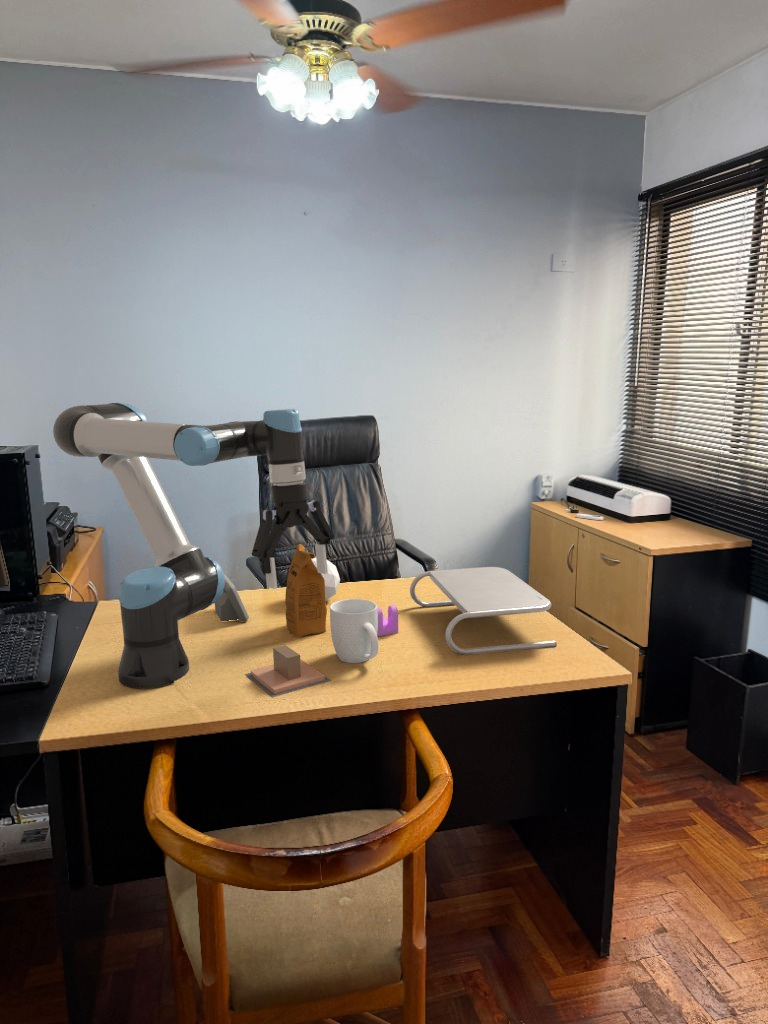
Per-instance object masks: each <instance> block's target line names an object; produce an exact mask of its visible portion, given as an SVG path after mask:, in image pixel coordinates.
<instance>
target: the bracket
mask: <svg viewBox="0 0 768 1024" xmlns="http://www.w3.org/2000/svg"><path fill="white" fill-rule="evenodd" d="M383 613H384V612H383V609H382V608H381V607H380V606H377V614H378V630H377V637H381V636H387V635H393V634H399V611H398V607H397V605H395V604H393V605H389V606H387V617H386V616H385V615H383Z"/></svg>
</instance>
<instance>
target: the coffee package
mask: <svg viewBox="0 0 768 1024" xmlns="http://www.w3.org/2000/svg"><path fill="white" fill-rule="evenodd" d="M315 557H316V554H314V553H311V552H309V551H306V547H305V546H304V545H303V544H302V543H299V544H297V546H296V551H295V552H294V556H293V558H292V561H291V563H290V565H289V570H288V574H287V582H286V587H285V588H286V589H285V621H286V627H287V629H288V632H289V634H290V635H293V636H294V637H296V638H297V637H298V638H301V637H306V636H309V635H317V634H321V633H324V632H326V631H327V624H326V623H327V622H326V621H327V614H328V607H327V601H325V599H326V596H325V580H324V578H323V576H322V575H321V573H318V571H317V568H316V566H315V565H314V563H313V562H312V559H313V558H315Z"/></svg>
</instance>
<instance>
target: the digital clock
mask: <svg viewBox="0 0 768 1024" xmlns="http://www.w3.org/2000/svg"><path fill="white" fill-rule="evenodd" d="M223 574H224V580H225V584H224V588H223V593H222V595H221V597H220V598H219V600H218V601H217V602H215V603H214V610H215V611H214V612H215V615H217V617H218V618H220V619H219V620H220V622H221V621H228V622H230V621H229V620H235V621H239V622H241V623H246V622H248V620H249V619H250V617H249V614H248V611H247V609H246V607H245V605H244V603H243V601H242V599H241V596H240V595H239V592H238V590H237V588H236V586H235V585H234V584H233V582H232V581H231V580H230V579H229V577H228V576H227V575H226V574H225V573H224V572H223ZM237 619H239V620H237Z"/></svg>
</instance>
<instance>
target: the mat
mask: <svg viewBox="0 0 768 1024" xmlns="http://www.w3.org/2000/svg"><path fill="white" fill-rule="evenodd" d="M244 675H245V676H246V678H248V679H249V680H251V681H252V682H253V683H254V684H255V685H257V686H258V687H259V688H260V689H262V691H264V692H265V693H266V694H267V695H269V696H270V697H271V698H276V697H279V696H282V695H287V694H289V693H292V692H296V691H300V690H303V689H307V688H310V687H314V686H317V685H321V684H325V683H328V682H331V681H332V680H331V679H330V678H328V677H327V676H326V675H325V680H323V681H319V682H316V683H312V684H309V685H305V686H302V687H298V688H295V689H291V690H288V691H284V692H281V693H277V694H274V693H272V692H271V691H270V690H269V689H267V688H266V687H265V686H264V685H263V684H261V683H260V682H259V681H258V680H257V679H255V678H254V677H253V676H252V675H251V672H248V673H244Z"/></svg>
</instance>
